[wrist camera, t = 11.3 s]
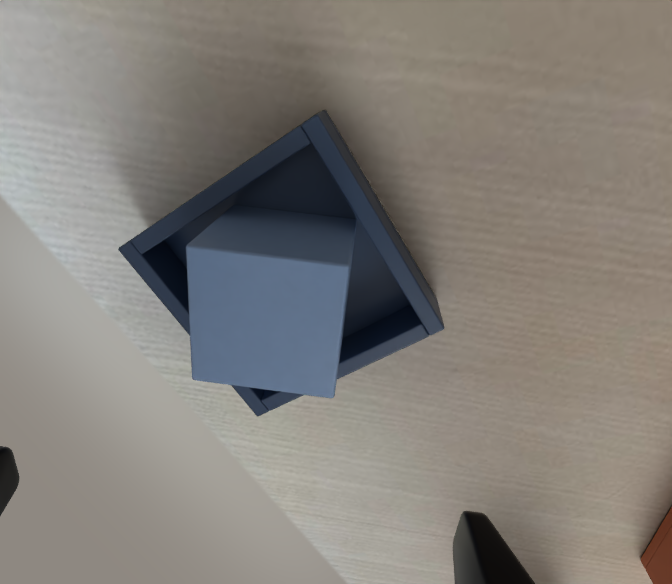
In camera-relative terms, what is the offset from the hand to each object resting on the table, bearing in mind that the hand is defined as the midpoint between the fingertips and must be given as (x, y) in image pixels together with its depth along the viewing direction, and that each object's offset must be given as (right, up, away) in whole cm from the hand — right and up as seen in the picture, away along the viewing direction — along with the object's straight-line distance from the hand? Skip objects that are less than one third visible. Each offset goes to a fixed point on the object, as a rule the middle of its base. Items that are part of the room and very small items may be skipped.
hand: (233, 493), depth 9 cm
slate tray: (0, +5, +9) cm, 10 cm away
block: (0, +5, +8) cm, 10 cm away
